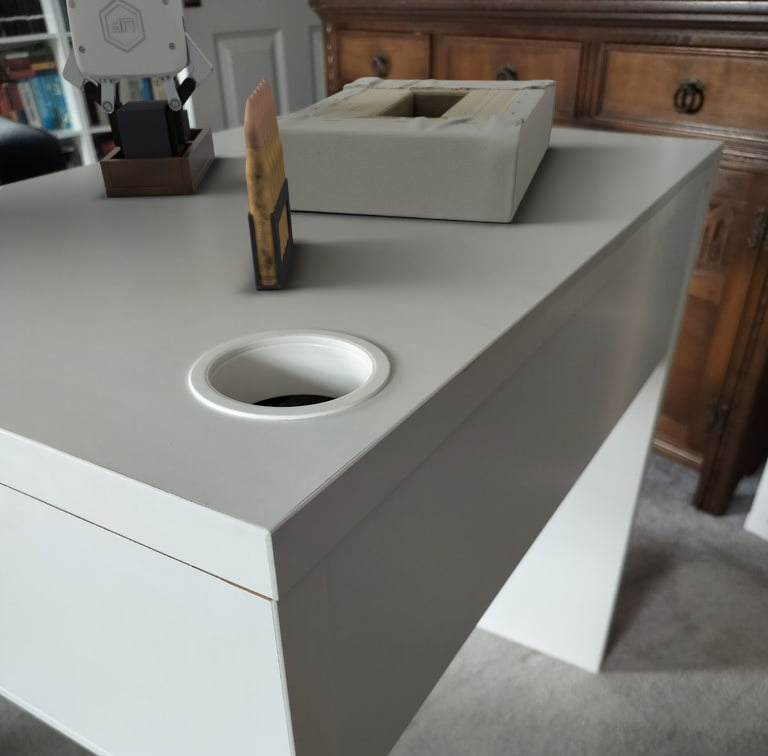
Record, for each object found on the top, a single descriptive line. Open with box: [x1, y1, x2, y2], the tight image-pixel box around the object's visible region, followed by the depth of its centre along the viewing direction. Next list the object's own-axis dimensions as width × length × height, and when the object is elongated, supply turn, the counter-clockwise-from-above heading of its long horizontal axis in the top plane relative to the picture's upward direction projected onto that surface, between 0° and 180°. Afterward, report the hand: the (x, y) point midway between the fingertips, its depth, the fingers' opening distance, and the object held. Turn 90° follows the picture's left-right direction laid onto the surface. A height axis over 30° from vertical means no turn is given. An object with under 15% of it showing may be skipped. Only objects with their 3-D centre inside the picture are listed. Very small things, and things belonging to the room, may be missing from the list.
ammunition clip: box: [243, 78, 294, 291], centre depth 56 cm, size 11×2×12 cm, turn 1°
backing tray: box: [99, 126, 216, 198], centre depth 83 cm, size 9×16×3 cm, turn 3°
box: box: [277, 76, 558, 224], centre depth 79 cm, size 23×8×32 cm
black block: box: [116, 99, 174, 159], centre depth 78 cm, size 4×6×5 cm
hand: (153, 151), depth 79 cm, fingers closed on black block, 4 cm apart
